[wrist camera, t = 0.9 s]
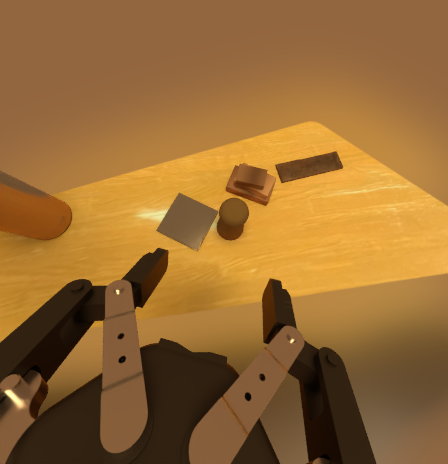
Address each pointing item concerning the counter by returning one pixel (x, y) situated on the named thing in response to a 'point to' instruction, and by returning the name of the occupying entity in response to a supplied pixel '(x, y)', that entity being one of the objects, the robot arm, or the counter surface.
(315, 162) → the wooden plank
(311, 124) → the counter surface
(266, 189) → the offcut stack
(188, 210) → the slate coaster
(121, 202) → the counter surface
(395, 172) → the counter surface
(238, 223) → the cork
